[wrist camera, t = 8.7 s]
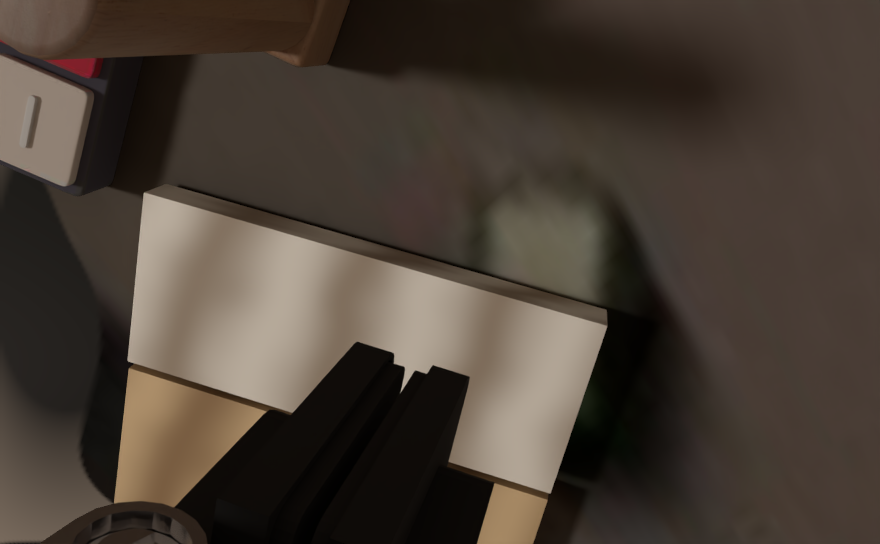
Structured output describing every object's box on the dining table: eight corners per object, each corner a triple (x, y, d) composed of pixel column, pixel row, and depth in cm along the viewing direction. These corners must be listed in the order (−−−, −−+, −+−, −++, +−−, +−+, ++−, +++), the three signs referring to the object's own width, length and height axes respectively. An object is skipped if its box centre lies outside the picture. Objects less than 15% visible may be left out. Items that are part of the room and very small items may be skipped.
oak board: (549, 477, 38) (547, 499, 37) (499, 628, 42) (495, 656, 40) (150, 352, 41) (128, 368, 39) (131, 505, 44) (111, 526, 42)
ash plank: (606, 309, 35) (607, 326, 33) (552, 470, 38) (550, 493, 36) (166, 183, 37) (143, 192, 35) (149, 345, 40) (127, 361, 38)
